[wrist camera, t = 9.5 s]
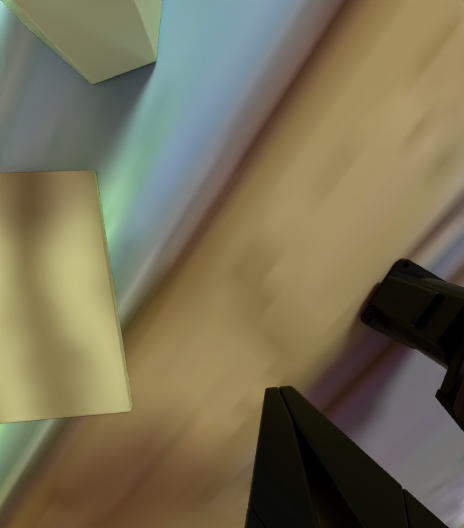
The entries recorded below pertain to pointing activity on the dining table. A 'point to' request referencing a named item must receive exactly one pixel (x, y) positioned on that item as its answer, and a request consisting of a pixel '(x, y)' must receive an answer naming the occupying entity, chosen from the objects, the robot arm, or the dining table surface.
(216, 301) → the dining table surface
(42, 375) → the board
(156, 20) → the jar
